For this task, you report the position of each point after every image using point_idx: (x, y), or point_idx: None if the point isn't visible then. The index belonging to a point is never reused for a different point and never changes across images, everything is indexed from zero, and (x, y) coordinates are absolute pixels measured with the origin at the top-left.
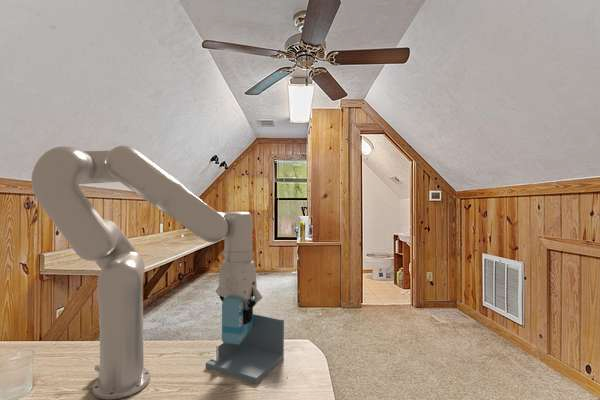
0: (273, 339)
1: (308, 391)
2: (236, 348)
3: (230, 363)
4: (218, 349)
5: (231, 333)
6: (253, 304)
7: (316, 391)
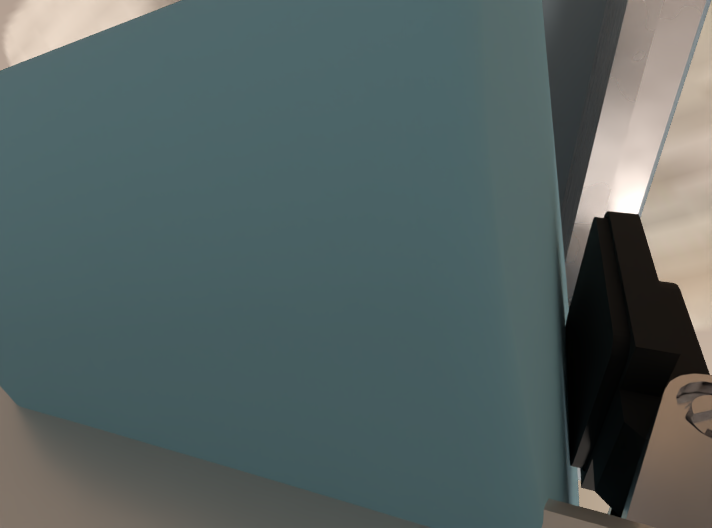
0: None
1: (44, 21)
2: (563, 206)
3: None
4: None
5: None
6: None
7: (26, 39)
